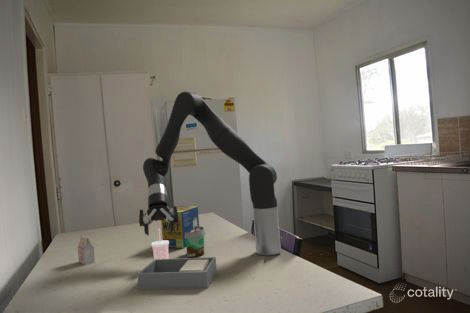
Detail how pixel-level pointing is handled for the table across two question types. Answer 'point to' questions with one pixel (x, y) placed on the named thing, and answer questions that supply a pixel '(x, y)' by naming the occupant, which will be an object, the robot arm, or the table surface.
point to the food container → (195, 242)
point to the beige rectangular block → (195, 265)
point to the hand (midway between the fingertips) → (159, 232)
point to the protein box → (180, 226)
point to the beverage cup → (160, 248)
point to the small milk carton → (85, 251)
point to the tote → (175, 274)
